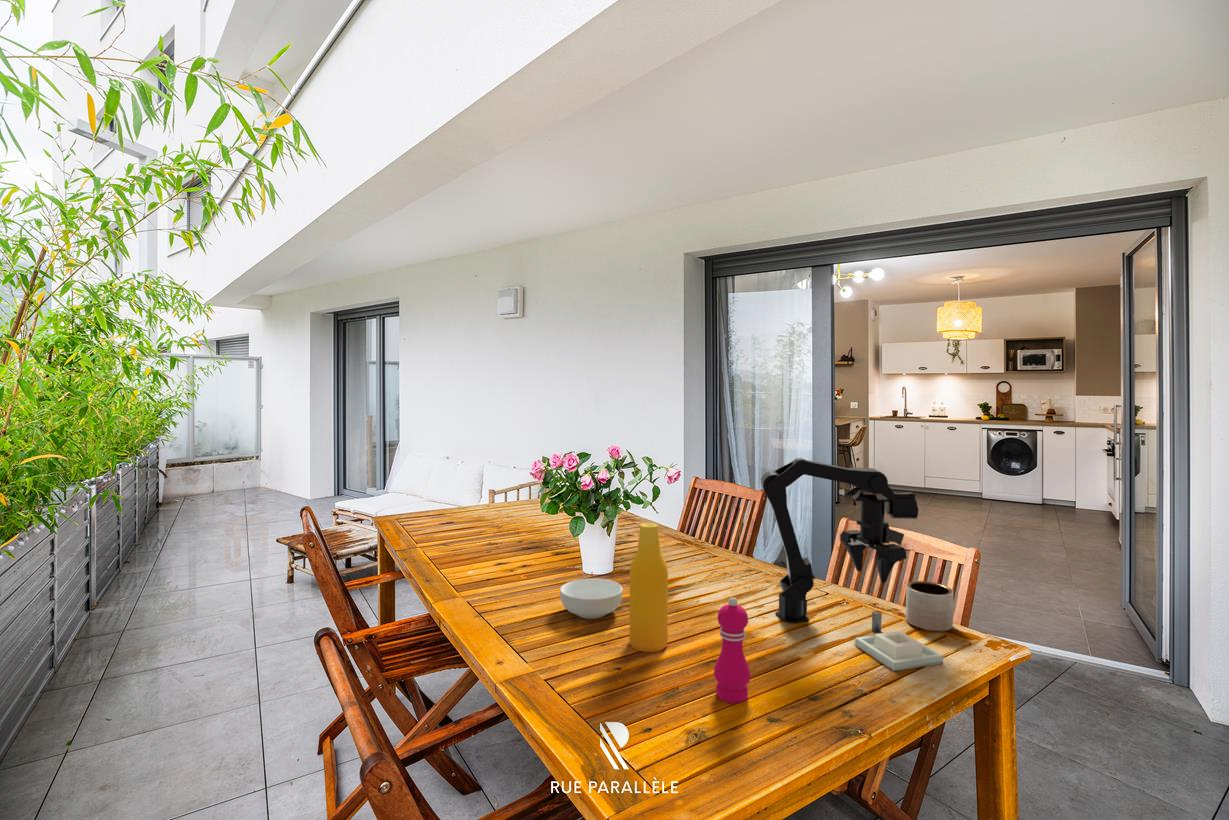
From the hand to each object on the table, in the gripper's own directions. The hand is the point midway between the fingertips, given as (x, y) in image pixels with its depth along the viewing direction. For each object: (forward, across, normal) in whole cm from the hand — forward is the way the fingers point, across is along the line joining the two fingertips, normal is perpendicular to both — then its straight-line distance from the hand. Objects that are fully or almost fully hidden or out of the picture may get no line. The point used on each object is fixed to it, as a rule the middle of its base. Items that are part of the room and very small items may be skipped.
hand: (870, 576), depth 154 cm
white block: (+11, -17, +6) cm, 21 cm away
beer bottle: (+12, +3, +60) cm, 61 cm away
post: (+12, -5, +2) cm, 13 cm away
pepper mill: (+12, -23, +51) cm, 57 cm away
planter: (+12, -5, -14) cm, 19 cm away
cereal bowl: (+12, +25, +69) cm, 74 cm away
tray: (+12, -17, +6) cm, 22 cm away
